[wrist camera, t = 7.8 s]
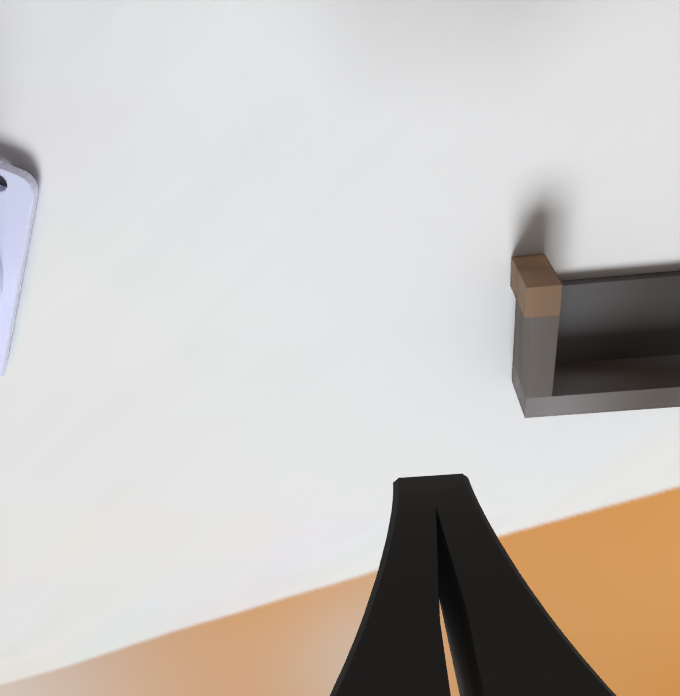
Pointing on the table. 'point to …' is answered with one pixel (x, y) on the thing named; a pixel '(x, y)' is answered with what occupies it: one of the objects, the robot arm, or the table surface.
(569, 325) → the trap box
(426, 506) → the robot arm
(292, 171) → the table surface
